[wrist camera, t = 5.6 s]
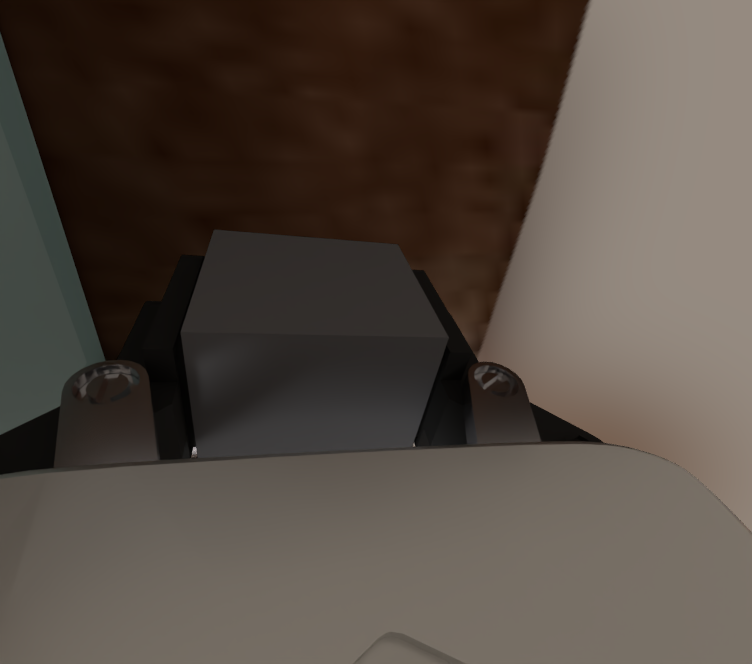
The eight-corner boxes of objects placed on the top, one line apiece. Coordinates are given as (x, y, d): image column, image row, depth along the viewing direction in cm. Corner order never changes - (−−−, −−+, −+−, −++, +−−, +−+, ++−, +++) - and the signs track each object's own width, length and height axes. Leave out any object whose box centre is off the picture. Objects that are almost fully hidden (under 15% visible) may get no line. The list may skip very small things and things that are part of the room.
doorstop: (398, 244, 12) (448, 337, 8) (341, 511, 20) (355, 616, 16) (213, 229, 10) (180, 332, 7) (233, 520, 18) (222, 637, 15)
